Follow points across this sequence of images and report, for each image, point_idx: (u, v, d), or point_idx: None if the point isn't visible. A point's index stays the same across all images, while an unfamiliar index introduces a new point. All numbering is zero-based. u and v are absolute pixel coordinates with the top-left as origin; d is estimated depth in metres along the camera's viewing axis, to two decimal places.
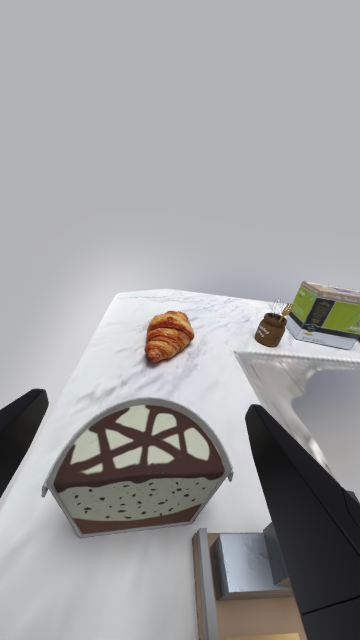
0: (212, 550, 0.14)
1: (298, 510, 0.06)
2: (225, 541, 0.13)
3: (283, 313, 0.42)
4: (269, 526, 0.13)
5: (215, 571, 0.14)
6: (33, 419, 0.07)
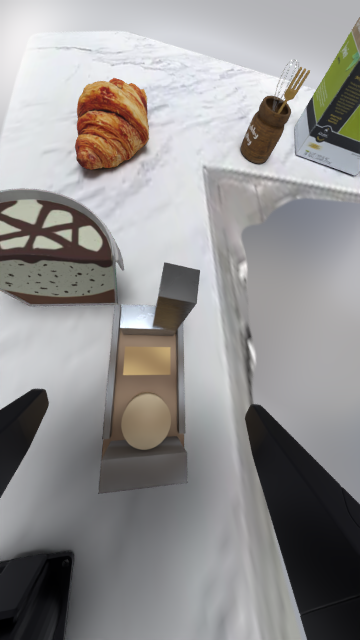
0: None
1: (297, 510, 0.06)
2: (124, 307, 0.18)
3: (287, 94, 0.27)
4: None
5: None
6: (33, 419, 0.07)
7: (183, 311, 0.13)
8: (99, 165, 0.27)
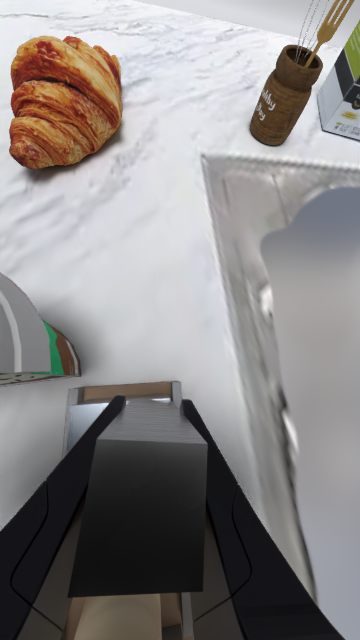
0: None
1: None
2: (75, 412, 0.10)
3: (321, 33, 0.18)
4: (129, 402, 0.10)
5: None
6: None
7: None
8: (48, 162, 0.19)
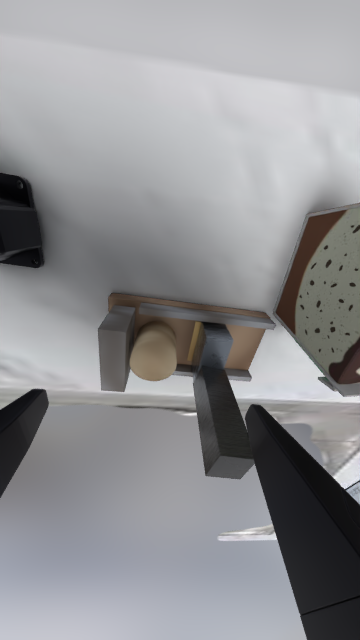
0: (223, 325, 0.18)
1: (297, 510, 0.06)
2: (228, 343, 0.16)
3: None
4: (227, 379, 0.17)
5: (213, 324, 0.18)
6: (33, 419, 0.07)
7: (203, 441, 0.13)
8: None
